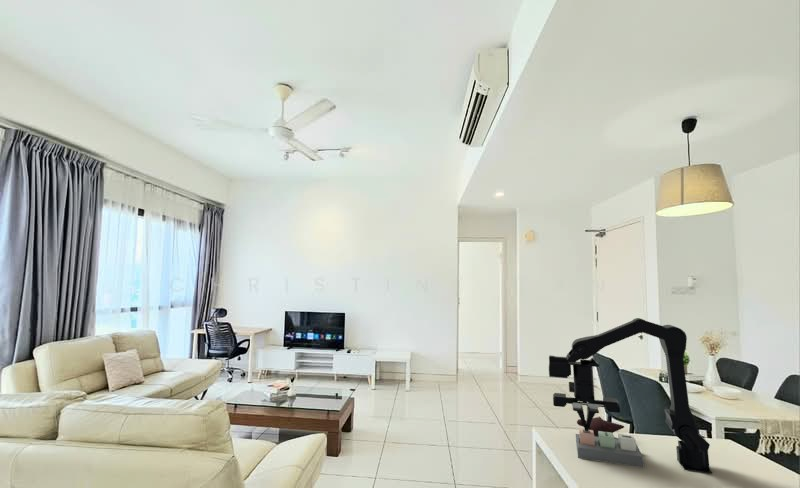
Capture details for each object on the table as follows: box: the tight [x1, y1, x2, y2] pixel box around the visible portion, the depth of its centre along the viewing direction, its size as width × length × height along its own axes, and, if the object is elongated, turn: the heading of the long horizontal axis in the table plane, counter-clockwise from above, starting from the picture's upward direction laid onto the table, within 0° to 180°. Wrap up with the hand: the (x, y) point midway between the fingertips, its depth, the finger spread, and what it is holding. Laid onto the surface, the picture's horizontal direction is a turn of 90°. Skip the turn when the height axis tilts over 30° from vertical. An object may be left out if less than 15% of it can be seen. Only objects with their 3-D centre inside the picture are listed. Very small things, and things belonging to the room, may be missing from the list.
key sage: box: [598, 431, 616, 448], centre depth 116 cm, size 4×4×4 cm
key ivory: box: [617, 433, 637, 451], centre depth 114 cm, size 4×4×4 cm
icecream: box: [576, 416, 625, 437], centre depth 129 cm, size 7×7×15 cm
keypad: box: [575, 433, 645, 468], centre depth 116 cm, size 17×11×3 cm, turn 68°
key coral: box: [578, 428, 595, 446], centre depth 118 cm, size 4×4×4 cm
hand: (586, 430), depth 118 cm, fingers closed
